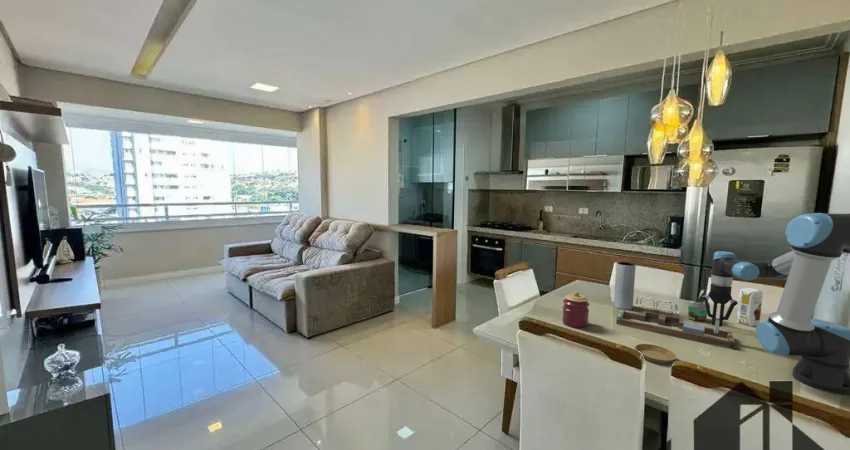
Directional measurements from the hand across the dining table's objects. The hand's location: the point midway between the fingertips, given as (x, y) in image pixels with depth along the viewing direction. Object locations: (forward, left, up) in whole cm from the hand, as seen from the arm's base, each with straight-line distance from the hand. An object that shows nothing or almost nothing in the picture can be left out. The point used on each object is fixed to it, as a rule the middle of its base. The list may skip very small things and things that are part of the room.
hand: (716, 332), depth 164 cm
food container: (+27, +5, -4) cm, 28 cm away
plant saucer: (-38, +21, -4) cm, 44 cm away
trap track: (+3, +17, -4) cm, 18 cm away
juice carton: (+37, -15, -4) cm, 40 cm away
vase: (+25, +42, -4) cm, 49 cm away
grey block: (0, +8, -4) cm, 9 cm away
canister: (-21, +58, -4) cm, 62 cm away
